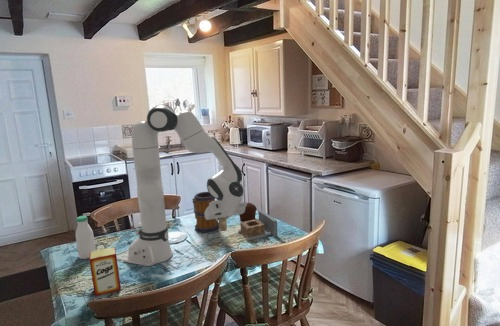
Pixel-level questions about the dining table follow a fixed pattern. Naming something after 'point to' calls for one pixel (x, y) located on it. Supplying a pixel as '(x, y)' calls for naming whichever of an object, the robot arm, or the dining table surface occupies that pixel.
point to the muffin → (248, 213)
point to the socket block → (252, 228)
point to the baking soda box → (104, 271)
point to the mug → (200, 206)
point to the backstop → (269, 226)
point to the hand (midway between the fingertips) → (222, 218)
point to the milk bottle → (84, 238)
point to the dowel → (223, 224)
